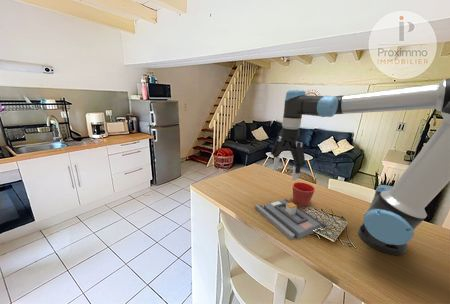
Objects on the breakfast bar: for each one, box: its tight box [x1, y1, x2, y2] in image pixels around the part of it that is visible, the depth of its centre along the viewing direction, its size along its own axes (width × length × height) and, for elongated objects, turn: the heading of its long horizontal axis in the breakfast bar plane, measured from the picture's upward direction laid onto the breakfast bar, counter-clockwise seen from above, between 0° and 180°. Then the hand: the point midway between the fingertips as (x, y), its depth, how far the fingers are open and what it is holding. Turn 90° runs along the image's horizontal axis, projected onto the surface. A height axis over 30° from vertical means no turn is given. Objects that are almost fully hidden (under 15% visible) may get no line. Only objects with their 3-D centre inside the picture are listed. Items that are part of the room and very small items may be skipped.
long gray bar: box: [284, 198, 327, 229], centre depth 90 cm, size 24×3×2 cm, turn 27°
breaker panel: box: [263, 198, 321, 240], centre depth 86 cm, size 22×13×4 cm, turn 28°
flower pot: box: [292, 181, 315, 207], centre depth 99 cm, size 11×11×10 cm
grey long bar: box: [254, 204, 297, 240], centre depth 84 cm, size 24×3×2 cm, turn 28°
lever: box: [285, 201, 298, 216], centre depth 85 cm, size 3×3×5 cm
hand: (284, 174), depth 86 cm, fingers open, 11 cm apart
